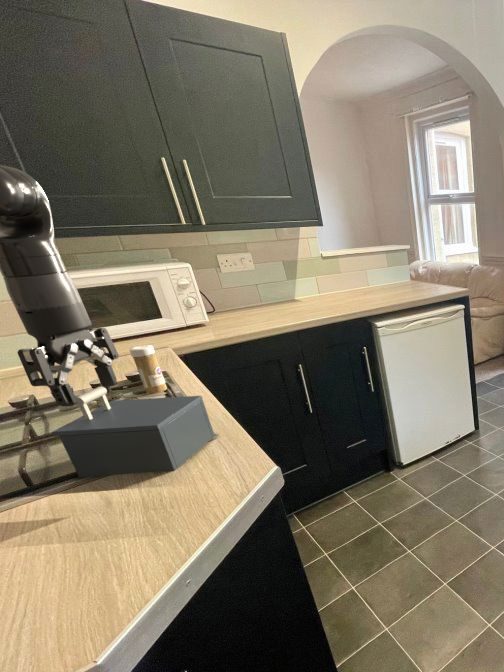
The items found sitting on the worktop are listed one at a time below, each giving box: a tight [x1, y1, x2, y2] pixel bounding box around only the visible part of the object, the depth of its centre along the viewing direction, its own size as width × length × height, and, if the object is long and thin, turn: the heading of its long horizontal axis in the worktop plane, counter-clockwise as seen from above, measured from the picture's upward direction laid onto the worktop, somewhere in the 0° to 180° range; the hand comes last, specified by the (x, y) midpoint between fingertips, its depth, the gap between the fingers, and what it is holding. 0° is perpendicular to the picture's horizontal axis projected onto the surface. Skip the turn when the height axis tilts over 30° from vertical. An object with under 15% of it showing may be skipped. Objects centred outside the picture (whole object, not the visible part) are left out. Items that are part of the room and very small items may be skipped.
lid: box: [51, 385, 203, 437], centre depth 74 cm, size 16×13×5 cm
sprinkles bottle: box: [129, 344, 168, 395], centre depth 107 cm, size 5×5×14 cm
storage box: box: [58, 399, 216, 478], centre depth 77 cm, size 16×13×10 cm
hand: (90, 395), depth 73 cm, fingers open, 8 cm apart
